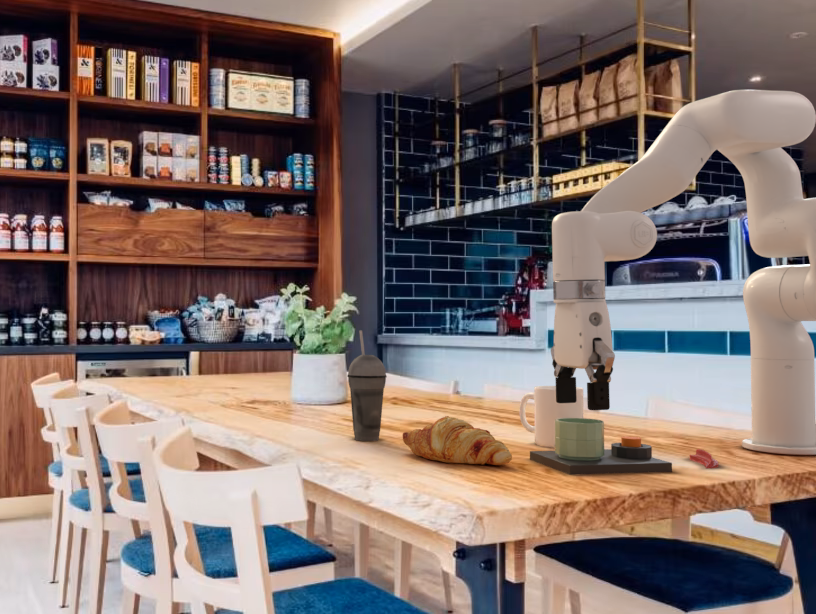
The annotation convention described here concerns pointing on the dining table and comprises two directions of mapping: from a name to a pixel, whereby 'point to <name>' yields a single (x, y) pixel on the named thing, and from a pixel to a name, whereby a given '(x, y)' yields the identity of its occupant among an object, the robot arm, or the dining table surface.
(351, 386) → the beverage cup
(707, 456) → the cayenne pepper
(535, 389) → the cup
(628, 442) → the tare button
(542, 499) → the dining table surface
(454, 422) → the croissant
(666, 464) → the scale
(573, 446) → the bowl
